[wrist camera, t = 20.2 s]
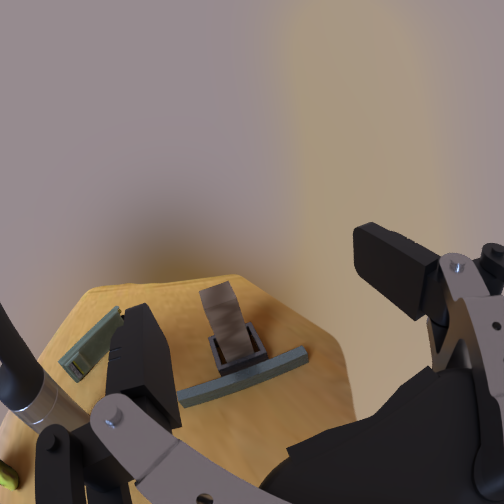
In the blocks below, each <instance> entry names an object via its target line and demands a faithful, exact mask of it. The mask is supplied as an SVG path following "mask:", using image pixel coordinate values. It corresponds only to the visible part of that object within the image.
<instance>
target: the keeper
mask: <svg viewBox="0 0 504 504" xmlns="http://www.w3.org/2000/svg"><path fill="white" fill-rule="evenodd" d="M245 326H246V329H247V332H248V335H251V336H252V338H253V340H254V342H255V344H256V346H257V348H258V350H259V352H256V353H254V354H251V355H248V356H246V357H243V358H240V359H238V360H235V361H232V362H229V363H227V364H224V365H222V362H221V359H220V356H219V353H218V350H217V347H219V344H218V341H217V339H216V337H215V335H213V336H211V337H208V339H209V342H210V346H211V349H212V352H213V356H214V359H215V362H216V365H217V368H218V371H219V373H220V375H221V378H218V379H215V380H212V381H209V382H206V383H203V384H200V385H197V386H193V387H190V388H187V389H184V390H180V391H177V397H178V401H179V402H180V404H181V405H182V406H183V407H184V408H187V407H191V406H194V405H197V404H201V403H204V402H207V401H210V400H214V399H217V398H220V397H223V396H226V395H228V394H231V393H234V392H237V391H240V390H243V389H245V388H248V387H251V386H253V385H256V384H259V383H261V382H264V381H266V380H269V379H271V378H274V377H276V376H278V375H281V374H283V373H285V372H288V371H290V370H292V369H295V368H297V367H299V366H301V365H304V364H306V363H308V362H309V361H308V353H307V352H306V350H305V349H304V347H303V346H300V347H297V348H295V349H293V350H290V351H288V352H286V353H283V354H281V355H279V356H276V357H274V358H271V359H269V358H268V355H267V352H266V350H265V348H264V346H263V344H262V342H261V340H260V338H259V336H258V335H257V333H256V331H255V329H254V327H253V325H252V323H251V322H249V323H246V324H245Z"/></svg>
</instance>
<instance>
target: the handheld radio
mask: <svg viewBox="0 0 504 504" xmlns="http://www.w3.org/2000/svg"><path fill="white" fill-rule="evenodd" d="M118 309H119V306H115V307H114V308H113V309H112V310H111V311H110V312H109V313H108V314H106V315H105V316H104V317H103V318H102V319H101V320H100V321H99V322H98V323H97V324H96V325H95V326H94V327H93V328H92V329H91V330H89V331H88V332H87V333H86V334H85V335H84V336H83V337H82V338H81V339H80V340H79V341H78V342H77V343H76V344H75V345H74V346H73V347H72V348H71V349H70V350H69V351H68V352H67V353H66V354H65V355H64V356H63V357H62V358H61V359H60V360H59V361H58V363H59V364H60V365H61V366H62V367H63V368H64V370H65V371H66V372H67V373H68V374H69V375H70V376H71V378H72V379H73V380H74V381H75V382H76V383H78V382H79V381H80V380H81V379H82V378H83V377H84V376H85V375H86V374H87V373H88V372H89V371H90V370H91V369H92V368H93V367H94V365H95V364H96V363H97V362H98V361H99V360H100V359H101V358H102V357H103V356H104V355H105V354H106V353H107V352H108V351H109V350H110V342H111V338H112V336H113V334H114V332H115V331H116V329H117V327H120V326H123V325H124V315H121V316H120V313H121V310H120V309H119V310H118Z"/></svg>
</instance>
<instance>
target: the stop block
mask: <svg viewBox="0 0 504 504" xmlns="http://www.w3.org/2000/svg"><path fill="white" fill-rule="evenodd" d="M199 294H200V297H201V301H202V304H203V308H204V311H205V313H206V316H207V318H208V320H209V323H210V325H211V327H212V330H213V332H214V334H215V337H216V339H217V341H218V344H219V346H220V348H221V350H222V353H223V355H224V357H225V359H226V361H227V363H229V362H232V361H235V360H238V359H240V358H243V357H246V356H248V355H251V354H254V350H253V347H252V344H251V341H250V338H249V335H248V332H247V329H246V326H245V323H244V319H243V316H242V313H241V310H240V307H239V304H238V301H237V297H236V295H235V293H234V291H233V289H232V287H231V285H230V283H229V281H227V282H224V283H221V284H218V285H216V286H213V287H210V288H207V289H204V290H201V291H199Z"/></svg>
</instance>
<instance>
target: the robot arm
mask: <svg viewBox="0 0 504 504" xmlns="http://www.w3.org/2000/svg"><path fill="white" fill-rule="evenodd" d="M353 248H354V266H355V269H356V271H357V273H358V275H359V276H360V277H361V278H362V279H364V280H365V281H366V282H368V283H369V284H370V285H371V286H372V287H374V288H375V289H377V291H379V292H380V293H381V294H382V295H384V296H385V297H386V298H387V299H389V300H390V301H391V302H392V303H394V304H395V305H396V306H397V307H398V308H399V309H401V310H402V311H403V312H404V313H406V314H407V315H408V316H409V317H410V318H411V319H413V320H414V321H417V320H418V319H419V318H421V317H422V316H424V315H425V314H426V315H427V316H428V318H427V329H428V334H429V341H430V348H431V354H432V369H431V368H430V367H429V366H427V367H426V368H424V369H423V370H422V371H420V372H419V373H418V374H416V375H415V376H414V377H412V378H411V379H409V380H408V381H407V382H405V383H404V384H403V385H401V386H400V387H399V388H398V390H397V391H396V392H395V393H394V394H393V395H392V396H391V397H390V398H389V400H388V401H387V402H386V403H385V404H384V405H383V406H382V407H381V408H380V409H379V410H378V411H377V412H376V413H375V414H374V415H373V416H371V417H368V418H365V419H362V420H359V421H356V422H353V423H349V424H346V425H342V426H339V427H335V428H331V429H328V430H326V431H324V432H321V433H319V434H317V435H315V436H313V437H311V438H309V439H307V440H304V441H302V442H300V443H298V444H295V445H293V446H290V447H288V448H286V449H287V452H288V454H289V457H288V458H287V459H286V460H284V461H283V462H281V463H280V464H279V465H278V466H277V467H275V468H274V469H273V470H272V471H271V472H270V473H269V474H268V476H267V477H266V478H265V479H264V481H263V482H262V483H261V485H260V486H259V488H257V487H255V486H253V485H251V484H250V483H248V482H246V481H244V480H242V479H240V478H239V477H237V476H235V475H233V474H232V473H230V472H228V471H227V470H225V469H223V468H222V467H220V466H219V465H217V464H215V463H214V462H212V461H211V460H209V459H208V458H206V457H205V456H203V455H202V454H200V453H199V452H197V451H196V450H194V449H193V448H191V447H190V446H189V445H187V444H186V443H184V442H183V441H181V440H180V439H177V438H176V437H174V436H173V435H172V429H176V428H179V427H182V424H181V418H180V413H179V408H178V402H177V396H176V390H175V384H174V378H173V371H172V364H171V356H170V350H169V346H168V343H167V340H166V338H165V336H164V334H163V332H162V330H161V328H160V327H159V325H158V323H157V321H156V319H155V318H154V316H153V314H152V312H151V310H150V308H149V306H148V305H147V304H146V303H143V304H140V305H137V306H134V307H131V308H128V309H126V310H125V316H124V325H123V326H120V327H117V329H116V331H115V332H114V334H113V336H112V338H111V342H110V353H109V358H108V360H109V362H108V368H107V380H106V394H105V397H104V398H102V399H101V400H99V401H98V402H97V403H96V405H95V406H94V408H93V410H92V412H91V416H90V415H89V414H88V413H86V412H85V411H84V410H83V409H82V408H81V407H80V406H79V405H78V404H77V403H76V402H75V401H74V400H73V399H72V398H71V397H70V396H69V395H68V394H67V393H66V392H65V391H64V390H63V389H62V388H61V387H60V386H59V385H58V384H57V383H56V382H55V381H54V380H53V379H52V378H51V377H50V376H49V374H48V373H47V372H46V371H45V370H44V369H43V368H42V366H41V365H40V364H39V363H38V362H37V360H36V359H35V357H34V356H33V354H32V353H31V351H30V350H29V348H28V347H27V345H26V343H25V342H24V341H23V339H22V338H21V336H20V335H19V333H18V332H17V330H16V329H15V327H14V326H13V324H12V323H11V321H10V319H9V317H8V316H7V314H6V312H5V310H4V309H3V307H2V305H1V303H0V361H1V362H2V365H1V367H0V400H1V402H3V404H4V405H6V406H7V407H8V408H9V409H10V410H11V411H12V412H13V413H14V414H15V415H16V416H17V417H18V418H20V419H21V420H22V421H23V422H24V423H26V424H27V425H28V426H29V427H30V428H32V429H33V430H34V431H35V432H36V433H38V434H39V437H38V439H37V443H36V457H35V500H36V504H86V496H85V487H84V485H85V486H86V491H87V499H88V504H132V500H131V496H130V491H129V486H128V482H129V481H132V480H134V479H135V480H136V482H135V486H136V488H137V489H138V490H139V491H140V493H141V494H142V495H143V496H144V497H146V498H147V499H148V500H149V501H150V502H151V503H152V504H504V296H503V295H501V293H502V290H503V287H504V246H502V245H499V244H495V243H487V244H485V245H484V246H483V248H482V253H481V257H480V258H478V259H474V260H471V259H470V258H468V257H467V256H465V255H462V254H458V253H448V254H445V255H443V256H442V257H441V256H439V255H437V254H435V253H434V252H432V251H430V250H428V249H427V248H425V247H423V246H421V245H419V244H418V243H415V242H414V241H412V240H410V239H407V237H405V236H403V235H401V234H399V233H397V232H393V231H389V230H387V229H385V228H383V227H381V226H379V225H377V224H375V223H373V222H369V223H367V224H364V225H362V226H359V227H357V228H355V229H354V231H353Z"/></svg>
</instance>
